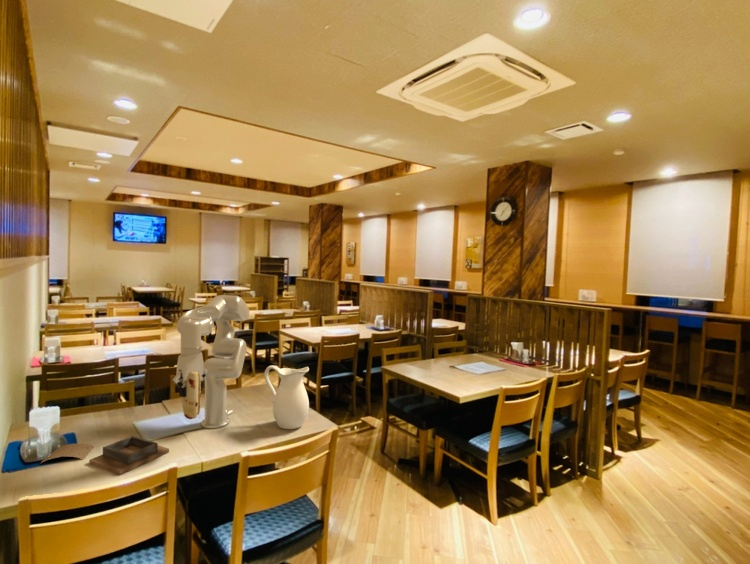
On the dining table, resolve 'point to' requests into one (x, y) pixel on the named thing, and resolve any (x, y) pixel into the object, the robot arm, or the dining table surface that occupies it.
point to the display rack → (128, 454)
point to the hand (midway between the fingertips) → (191, 393)
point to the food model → (192, 396)
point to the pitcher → (289, 397)
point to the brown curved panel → (72, 451)
